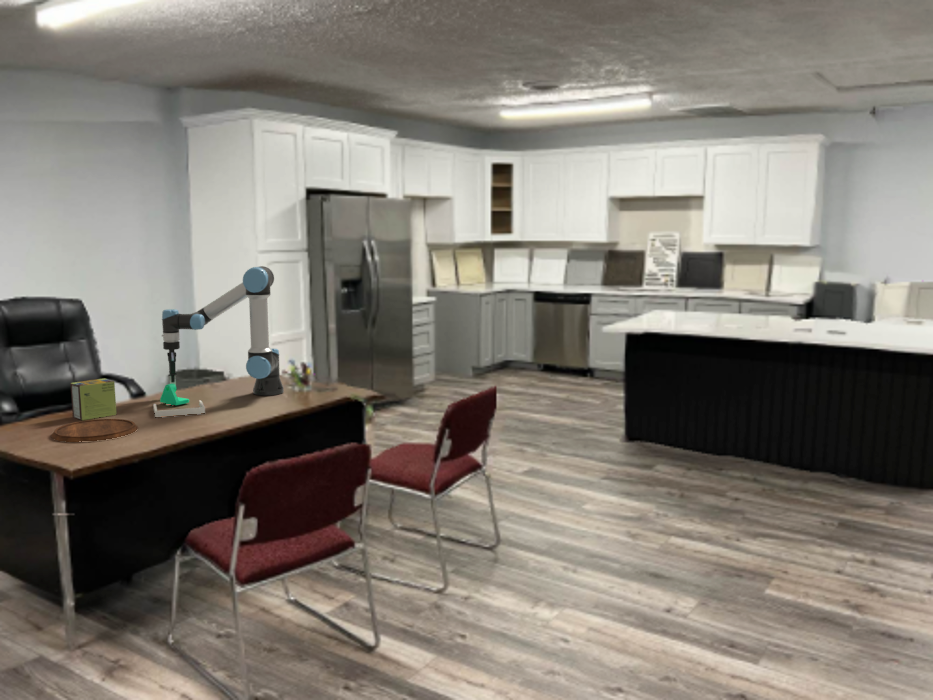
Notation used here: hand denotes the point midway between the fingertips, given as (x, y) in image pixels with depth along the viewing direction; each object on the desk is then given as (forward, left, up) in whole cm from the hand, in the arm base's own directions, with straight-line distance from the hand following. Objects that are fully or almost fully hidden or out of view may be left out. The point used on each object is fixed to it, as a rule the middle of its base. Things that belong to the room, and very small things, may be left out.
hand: (173, 388), depth 384 cm
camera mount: (0, +14, -5) cm, 15 cm away
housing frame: (0, +33, -5) cm, 34 cm away
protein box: (+35, +26, -5) cm, 44 cm away
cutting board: (+34, +58, -6) cm, 67 cm away
